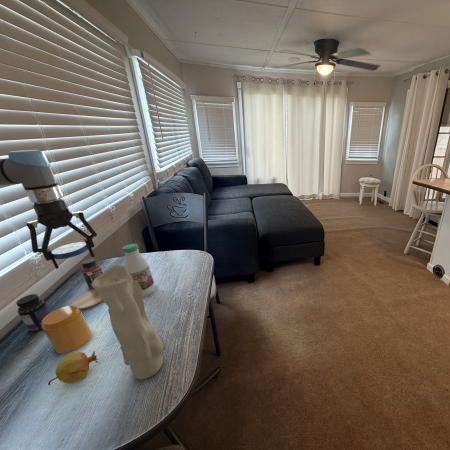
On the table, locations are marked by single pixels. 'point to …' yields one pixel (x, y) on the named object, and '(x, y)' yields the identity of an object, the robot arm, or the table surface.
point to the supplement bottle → (91, 271)
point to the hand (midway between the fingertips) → (75, 261)
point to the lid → (69, 250)
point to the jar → (66, 329)
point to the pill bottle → (32, 311)
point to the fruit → (74, 367)
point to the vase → (130, 321)
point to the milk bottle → (138, 268)
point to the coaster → (87, 300)
